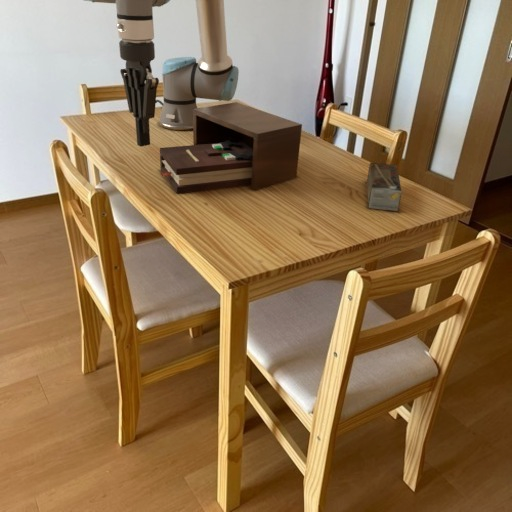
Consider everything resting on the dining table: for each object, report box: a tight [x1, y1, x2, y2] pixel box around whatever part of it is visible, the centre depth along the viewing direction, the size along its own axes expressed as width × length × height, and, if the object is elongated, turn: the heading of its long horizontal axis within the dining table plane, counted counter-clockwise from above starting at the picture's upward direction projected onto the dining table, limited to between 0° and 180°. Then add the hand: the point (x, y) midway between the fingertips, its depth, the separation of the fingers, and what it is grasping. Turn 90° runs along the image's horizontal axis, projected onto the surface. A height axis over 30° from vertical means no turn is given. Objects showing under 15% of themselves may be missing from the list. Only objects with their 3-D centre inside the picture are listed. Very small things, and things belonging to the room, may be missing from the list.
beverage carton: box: [366, 162, 402, 212], centre depth 131 cm, size 8×19×7 cm, turn 170°
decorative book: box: [159, 138, 253, 194], centre depth 135 cm, size 19×8×30 cm
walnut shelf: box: [192, 101, 303, 191], centre depth 140 cm, size 28×16×16 cm, turn 42°
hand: (143, 144), depth 118 cm, fingers closed
